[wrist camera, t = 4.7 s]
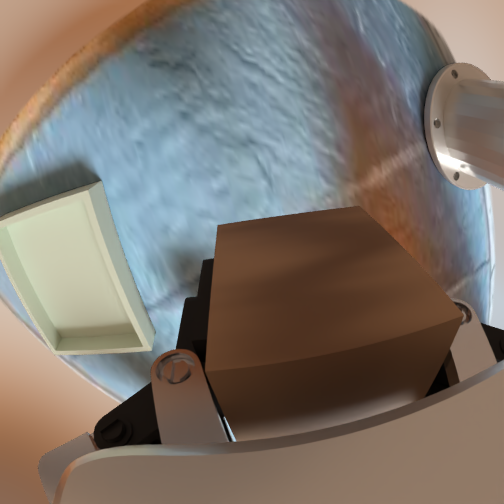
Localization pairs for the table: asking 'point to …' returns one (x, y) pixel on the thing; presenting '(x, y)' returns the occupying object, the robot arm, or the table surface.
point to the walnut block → (320, 323)
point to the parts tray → (75, 274)
